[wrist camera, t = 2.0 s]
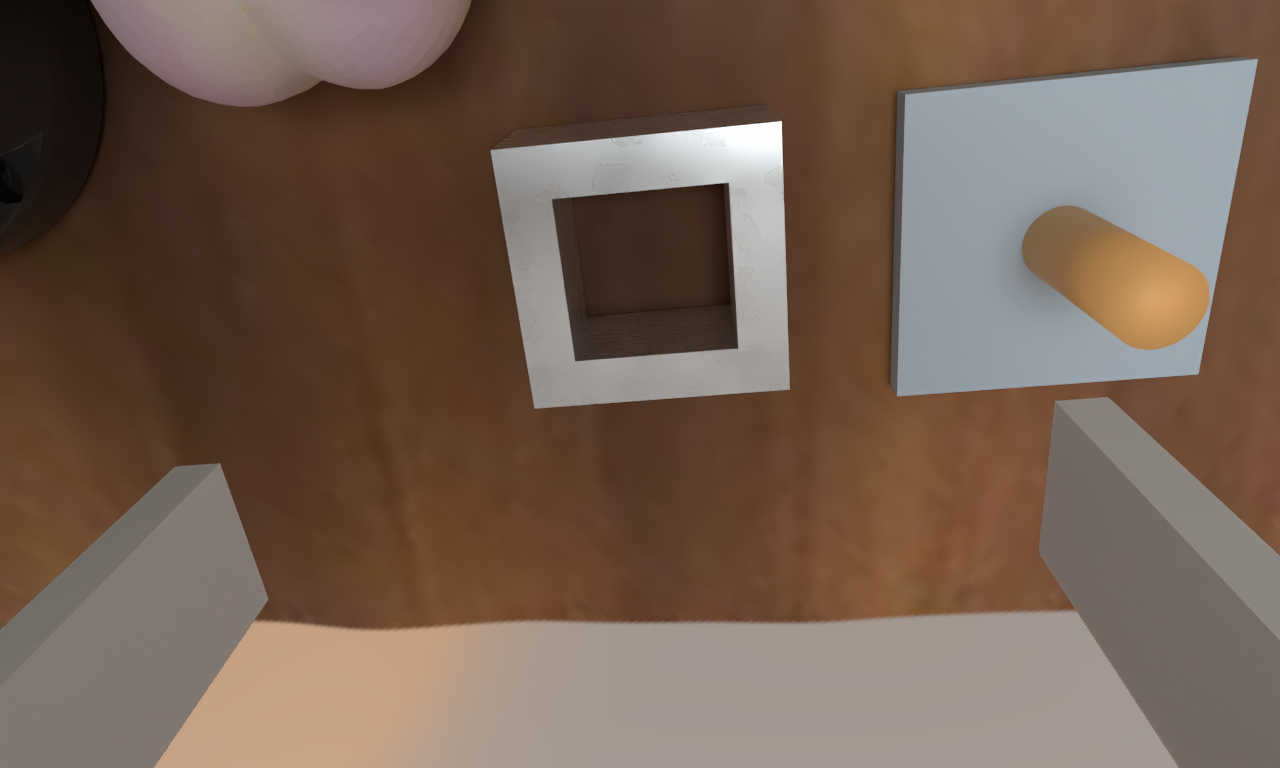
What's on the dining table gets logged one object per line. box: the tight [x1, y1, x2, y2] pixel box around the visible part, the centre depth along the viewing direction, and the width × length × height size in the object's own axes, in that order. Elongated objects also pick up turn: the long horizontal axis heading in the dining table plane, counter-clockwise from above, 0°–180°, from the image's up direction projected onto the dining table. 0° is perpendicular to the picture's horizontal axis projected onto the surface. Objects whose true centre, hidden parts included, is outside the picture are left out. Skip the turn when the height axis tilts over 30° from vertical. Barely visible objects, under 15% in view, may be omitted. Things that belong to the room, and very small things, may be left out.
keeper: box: [890, 57, 1258, 396], centre depth 24 cm, size 10×10×7 cm
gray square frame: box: [490, 104, 790, 408], centre depth 26 cm, size 8×8×4 cm
